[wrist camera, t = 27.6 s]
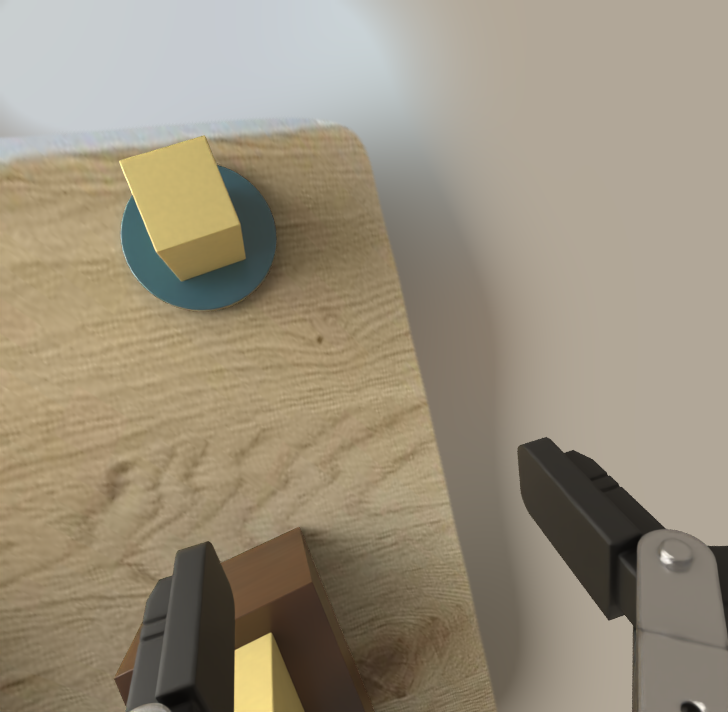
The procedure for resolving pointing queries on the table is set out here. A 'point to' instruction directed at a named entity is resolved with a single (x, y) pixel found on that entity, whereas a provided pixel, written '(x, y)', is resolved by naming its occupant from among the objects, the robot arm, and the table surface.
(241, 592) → the butter stand
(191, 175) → the butter slice
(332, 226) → the table surface
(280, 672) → the butter block
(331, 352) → the table surface
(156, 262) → the plate
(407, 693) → the table surface
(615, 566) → the robot arm
